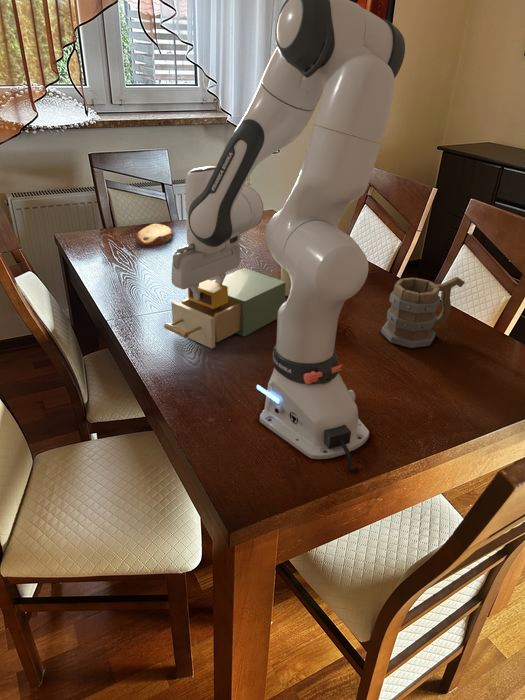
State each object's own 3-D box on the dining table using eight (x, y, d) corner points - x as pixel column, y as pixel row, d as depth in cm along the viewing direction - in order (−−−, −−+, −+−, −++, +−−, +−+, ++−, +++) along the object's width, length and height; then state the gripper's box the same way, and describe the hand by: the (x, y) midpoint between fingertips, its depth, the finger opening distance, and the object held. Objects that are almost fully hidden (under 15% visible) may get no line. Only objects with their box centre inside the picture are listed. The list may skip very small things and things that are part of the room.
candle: (297, 297, 155) (299, 265, 150) (278, 295, 156) (280, 263, 151) (299, 289, 159) (301, 258, 154) (281, 287, 160) (283, 256, 155)
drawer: (195, 357, 122) (193, 327, 118) (156, 338, 129) (153, 309, 125) (254, 326, 136) (254, 298, 132) (215, 310, 143) (215, 284, 139)
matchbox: (228, 302, 128) (228, 286, 126) (213, 309, 125) (212, 293, 123) (203, 292, 133) (202, 277, 131) (187, 299, 129) (187, 283, 127)
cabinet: (243, 336, 133) (244, 301, 128) (202, 318, 141) (201, 285, 136) (284, 315, 144) (285, 281, 139) (243, 299, 152) (243, 267, 147)
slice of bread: (162, 227, 209) (161, 218, 207) (186, 239, 197) (186, 229, 195) (120, 235, 199) (119, 226, 197) (144, 248, 187) (143, 238, 185)
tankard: (397, 350, 129) (407, 294, 121) (374, 326, 139) (382, 274, 132) (468, 341, 134) (482, 287, 126) (440, 319, 144) (452, 268, 137)
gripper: (183, 253, 112) (186, 312, 119) (244, 232, 126) (244, 285, 133) (163, 247, 116) (167, 304, 123) (225, 226, 130) (226, 278, 136)
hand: (208, 294), depth 128 cm, fingers closed on matchbox, 5 cm apart
